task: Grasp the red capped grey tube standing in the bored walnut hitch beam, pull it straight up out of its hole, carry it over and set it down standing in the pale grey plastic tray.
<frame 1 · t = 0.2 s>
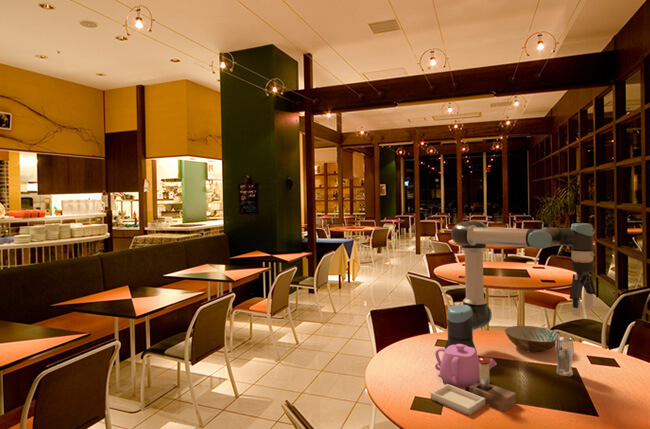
hand: (582, 312, 165), 28 cm above the table, fingers open, 13 cm apart
red capped grey tube: (484, 397, 152), resting in hitch beam
beer glass: (564, 374, 171), on the table
bowl: (532, 349, 201), on the table
tray: (457, 402, 150), on the table
teapot: (464, 379, 169), on the table
hitch beam: (492, 400, 150), on the table
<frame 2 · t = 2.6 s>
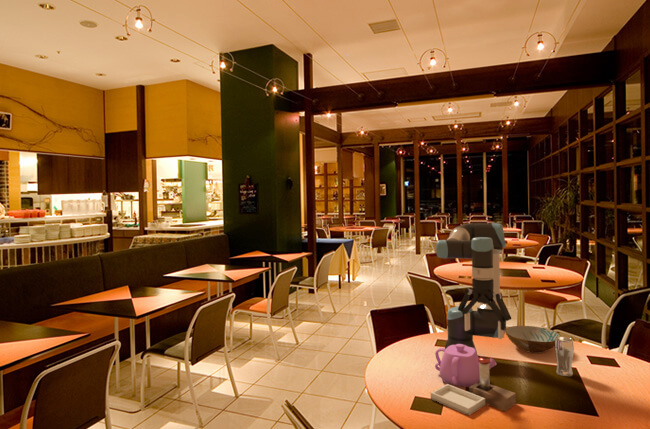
hand: (483, 334, 152), 24 cm above the table, fingers open, 13 cm apart
nothing on the table moved.
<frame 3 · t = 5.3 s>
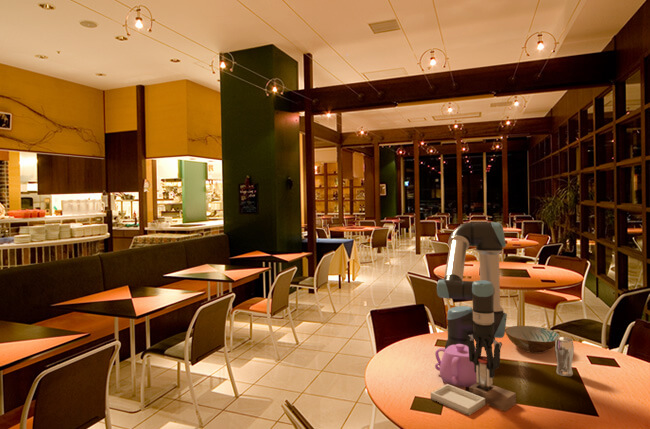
hand: (484, 383, 152), 6 cm above the table, fingers closed on red capped grey tube, 3 cm apart
red capped grey tube: (484, 397, 152), resting in hitch beam, touching gripper
everything else where it was.
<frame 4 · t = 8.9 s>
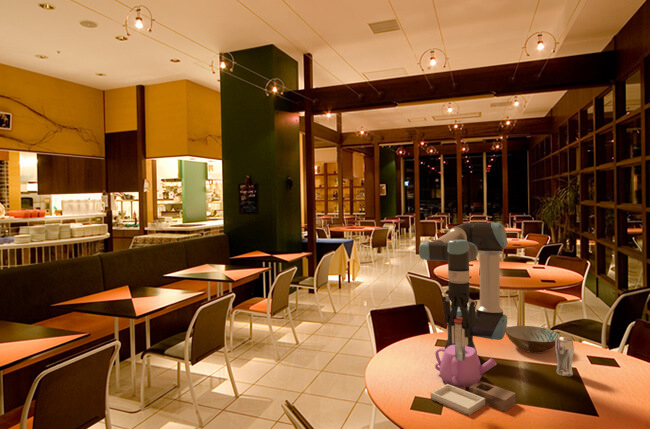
hand: (459, 343, 149), 22 cm above the table, fingers closed on red capped grey tube, 3 cm apart
red capped grey tube: (460, 358, 149), point 16 cm above the table, touching gripper
everything else where it was.
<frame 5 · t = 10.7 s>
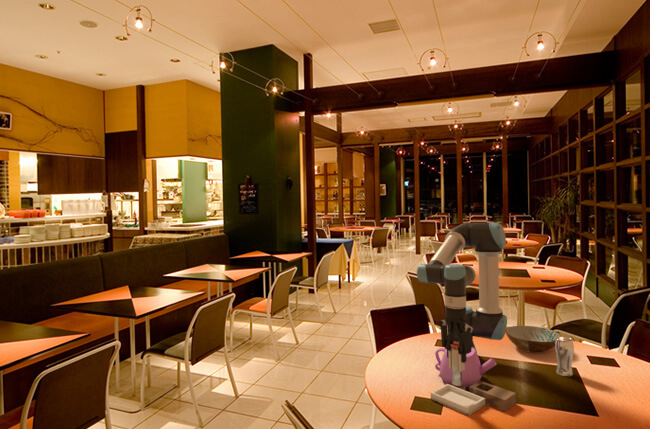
hand: (456, 368, 149), 13 cm above the table, fingers closed on red capped grey tube, 3 cm apart
red capped grey tube: (456, 383, 149), point 7 cm above the table, touching gripper
everything else where it was.
when the fingers open (8 cm above the table, at t = 12.3 s): red capped grey tube drops 1 cm, resting on tray.
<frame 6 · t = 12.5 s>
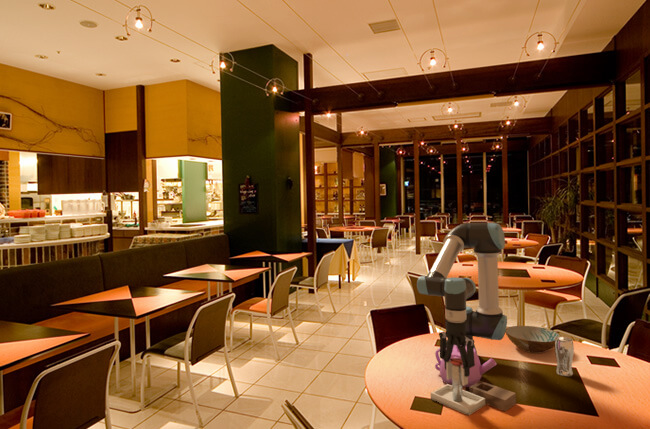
hand: (457, 381, 150), 8 cm above the table, fingers open, 6 cm apart
red capped grey tube: (457, 399, 150), point 1 cm above the table, touching tray
everything else where it was.
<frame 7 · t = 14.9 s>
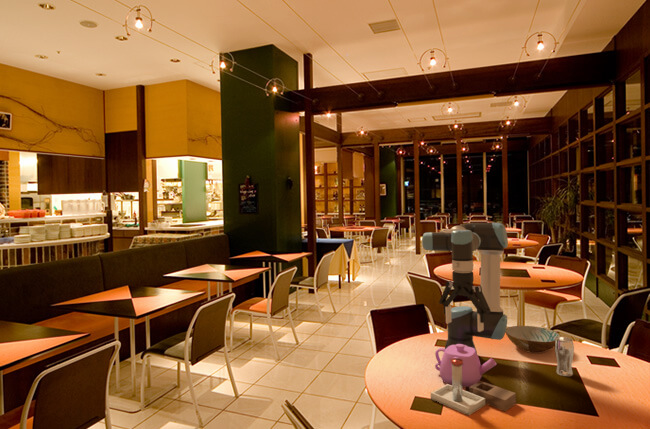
hand: (464, 326, 152), 28 cm above the table, fingers open, 13 cm apart
nothing on the table moved.
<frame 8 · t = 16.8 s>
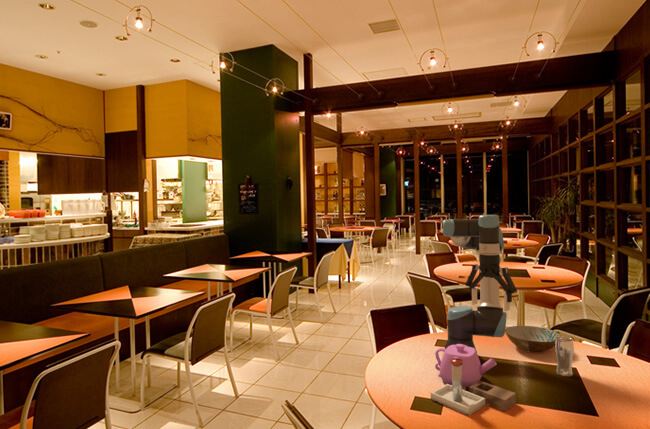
hand: (490, 307, 159), 33 cm above the table, fingers open, 13 cm apart
nothing on the table moved.
at the end: red capped grey tube inside the target area on the tray (0.0 cm from its centre), point 0.8 cm above the tray's base; the gripper is holding nothing; red capped grey tube touching tray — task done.
